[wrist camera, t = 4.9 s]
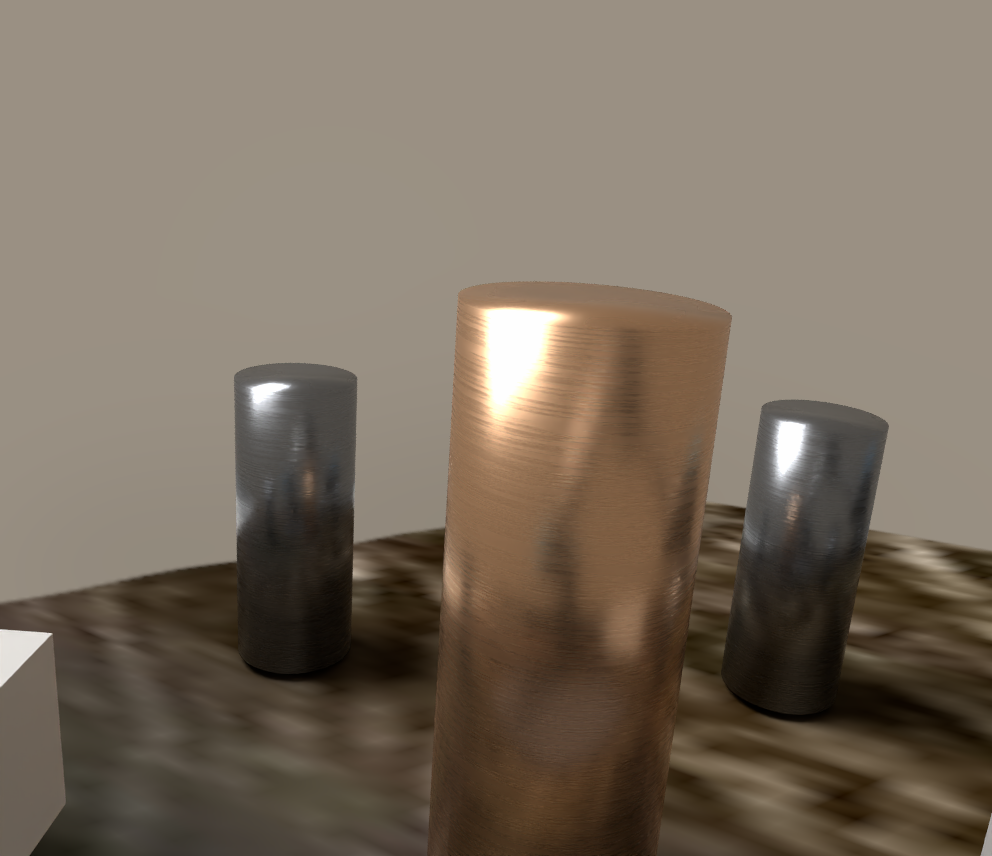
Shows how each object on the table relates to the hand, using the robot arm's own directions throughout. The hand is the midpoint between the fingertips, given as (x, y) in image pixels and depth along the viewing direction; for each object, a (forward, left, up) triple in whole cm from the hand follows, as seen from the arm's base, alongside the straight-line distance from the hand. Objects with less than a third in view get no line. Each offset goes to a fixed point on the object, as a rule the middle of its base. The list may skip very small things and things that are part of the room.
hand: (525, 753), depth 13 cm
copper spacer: (-1, -4, -6) cm, 8 cm away
